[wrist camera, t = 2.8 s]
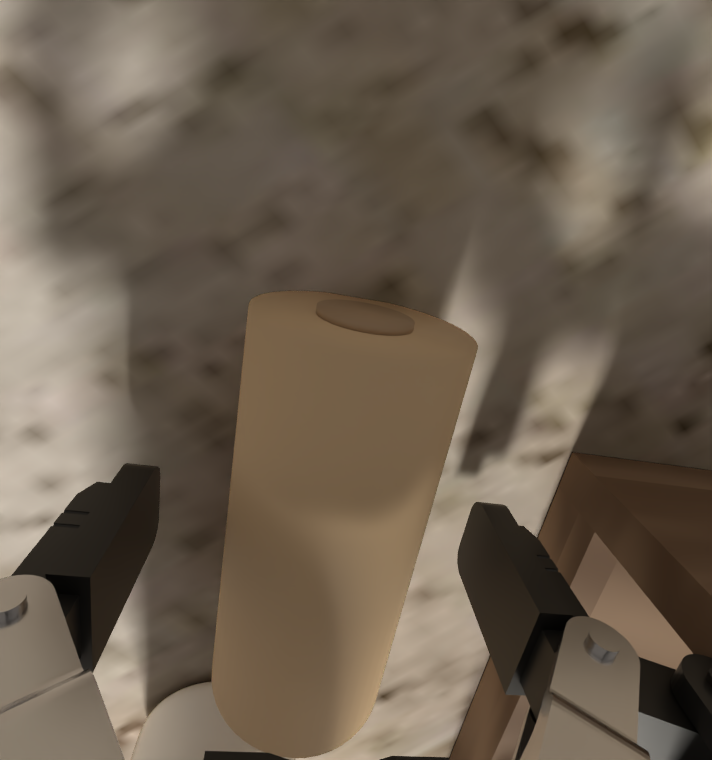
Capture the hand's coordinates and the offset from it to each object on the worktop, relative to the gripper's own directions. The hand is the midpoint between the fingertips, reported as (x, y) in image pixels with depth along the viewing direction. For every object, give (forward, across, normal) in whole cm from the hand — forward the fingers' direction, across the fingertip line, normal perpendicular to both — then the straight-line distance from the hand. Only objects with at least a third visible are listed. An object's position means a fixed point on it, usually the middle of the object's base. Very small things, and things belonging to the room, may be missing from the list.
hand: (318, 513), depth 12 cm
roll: (+2, 0, 0) cm, 2 cm away
